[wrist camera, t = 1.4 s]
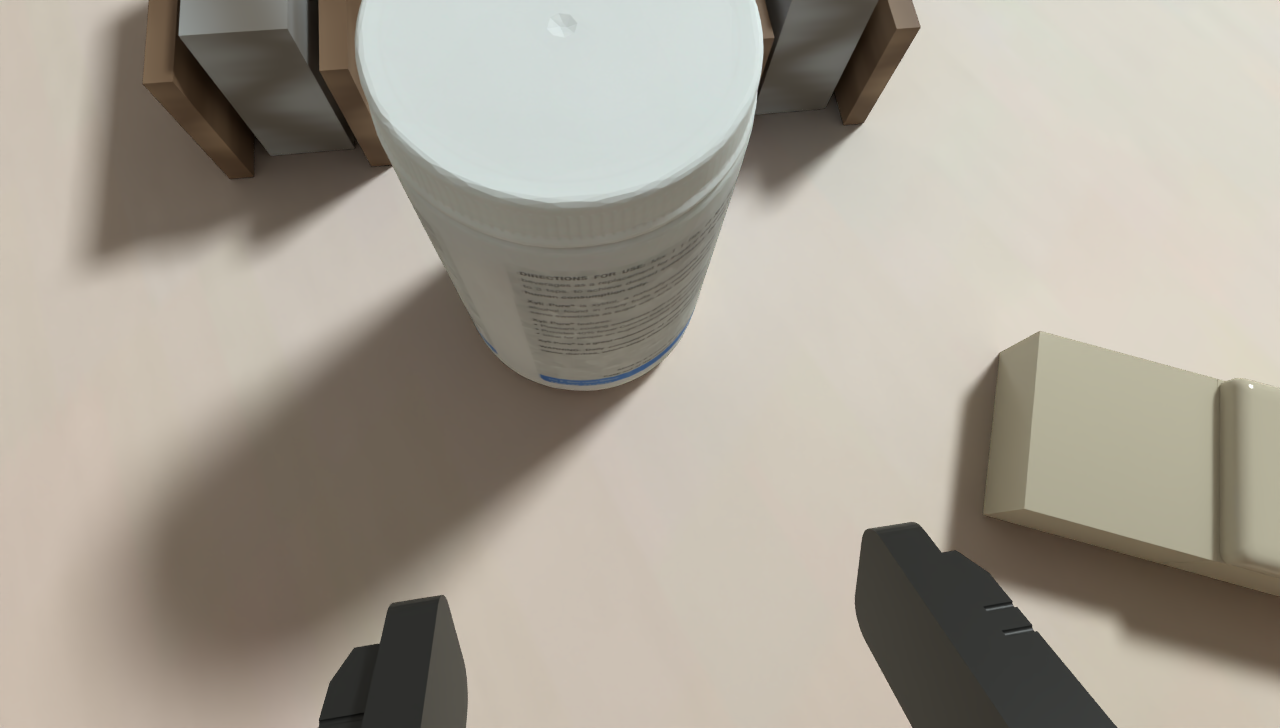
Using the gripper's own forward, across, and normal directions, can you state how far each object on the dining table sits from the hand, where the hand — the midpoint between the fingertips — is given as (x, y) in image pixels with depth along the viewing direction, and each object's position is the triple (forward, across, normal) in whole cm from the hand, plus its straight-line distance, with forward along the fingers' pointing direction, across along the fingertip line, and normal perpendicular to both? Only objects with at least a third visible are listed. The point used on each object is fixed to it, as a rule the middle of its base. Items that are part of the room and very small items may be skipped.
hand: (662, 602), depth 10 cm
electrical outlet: (+12, -24, +12) cm, 30 cm away
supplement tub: (+20, 0, +3) cm, 20 cm away
